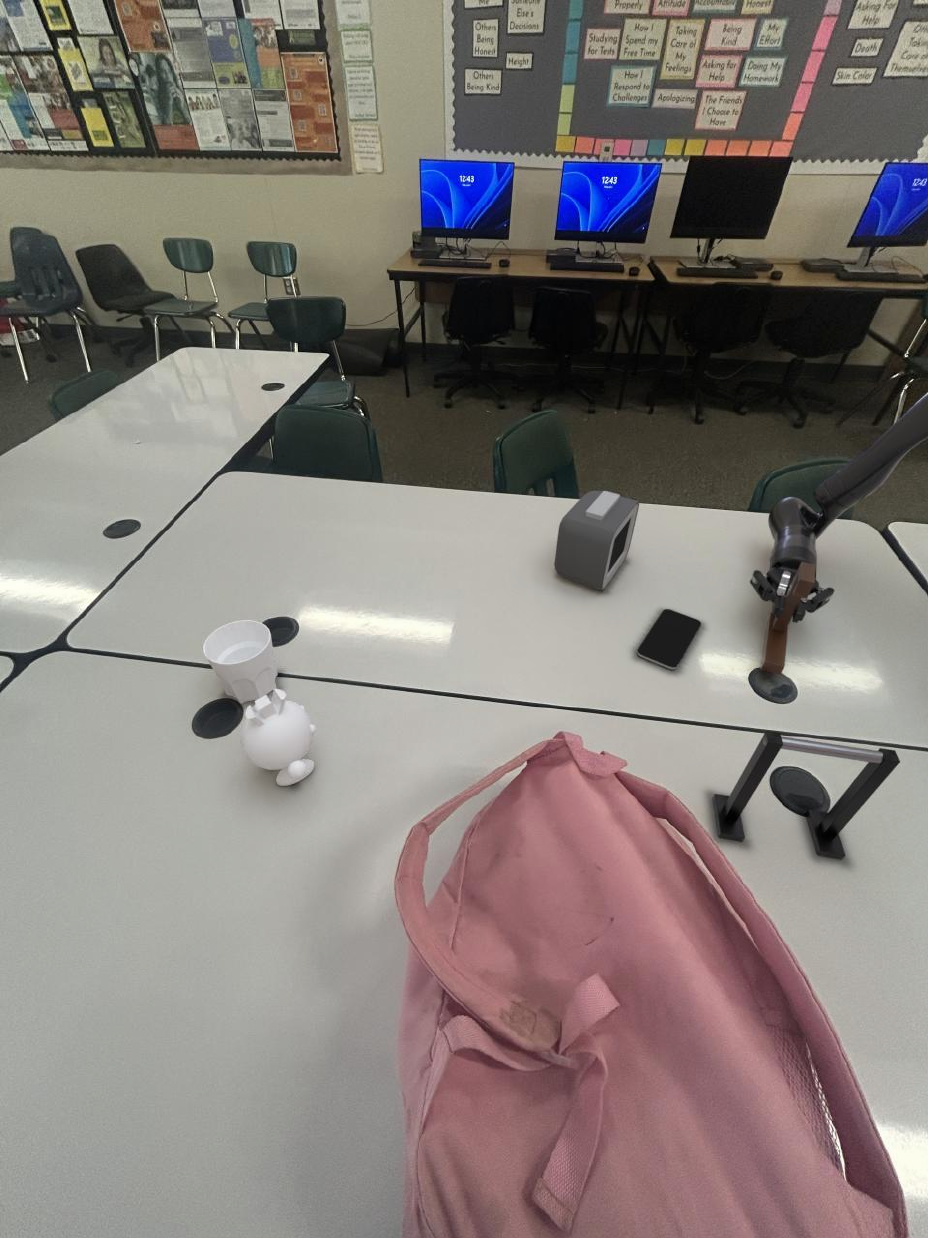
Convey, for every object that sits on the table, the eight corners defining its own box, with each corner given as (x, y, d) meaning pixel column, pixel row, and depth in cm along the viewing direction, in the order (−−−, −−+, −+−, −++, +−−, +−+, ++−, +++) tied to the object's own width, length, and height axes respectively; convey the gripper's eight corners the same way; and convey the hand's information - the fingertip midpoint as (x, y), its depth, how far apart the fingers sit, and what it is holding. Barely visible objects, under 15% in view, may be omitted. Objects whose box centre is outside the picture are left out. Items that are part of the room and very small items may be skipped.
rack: (828, 816, 76) (894, 735, 64) (842, 859, 71) (915, 780, 60) (712, 797, 78) (755, 715, 66) (718, 837, 73) (765, 757, 62)
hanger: (784, 625, 102) (819, 555, 92) (780, 675, 92) (817, 603, 82) (766, 620, 103) (798, 550, 93) (760, 669, 93) (795, 597, 83)
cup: (296, 678, 95) (283, 635, 88) (248, 717, 89) (231, 673, 82) (256, 655, 99) (242, 612, 93) (208, 690, 93) (189, 647, 86)
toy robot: (343, 787, 79) (326, 720, 69) (278, 824, 75) (250, 759, 65) (300, 719, 88) (279, 651, 79) (239, 749, 84) (210, 681, 74)
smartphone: (703, 621, 105) (676, 669, 95) (702, 624, 105) (675, 671, 96) (664, 607, 108) (635, 652, 98) (663, 610, 108) (634, 654, 99)
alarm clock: (600, 596, 112) (613, 528, 101) (548, 578, 116) (556, 512, 106) (627, 556, 122) (642, 491, 112) (579, 541, 127) (589, 477, 116)
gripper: (759, 536, 104) (751, 587, 93) (843, 554, 100) (845, 610, 88) (746, 569, 109) (736, 621, 98) (825, 588, 105) (825, 645, 93)
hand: (788, 616), depth 93 cm, fingers closed on hanger, 2 cm apart
